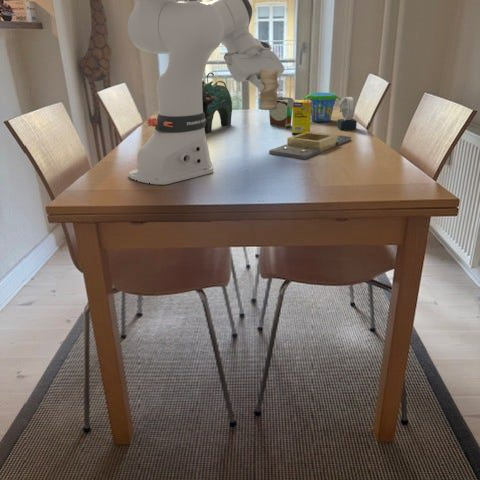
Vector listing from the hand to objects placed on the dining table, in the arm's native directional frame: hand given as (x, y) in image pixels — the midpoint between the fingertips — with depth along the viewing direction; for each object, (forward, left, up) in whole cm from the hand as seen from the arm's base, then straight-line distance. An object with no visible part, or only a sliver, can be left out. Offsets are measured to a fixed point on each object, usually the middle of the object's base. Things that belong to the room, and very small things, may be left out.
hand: (270, 88), depth 132 cm
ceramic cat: (+12, +34, -17) cm, 40 cm away
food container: (+30, +15, -17) cm, 38 cm away
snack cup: (+46, +8, -17) cm, 50 cm away
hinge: (+6, -11, -17) cm, 21 cm away
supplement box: (+21, +2, -17) cm, 28 cm away
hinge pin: (0, +1, -6) cm, 6 cm away
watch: (+37, -8, -17) cm, 41 cm away
